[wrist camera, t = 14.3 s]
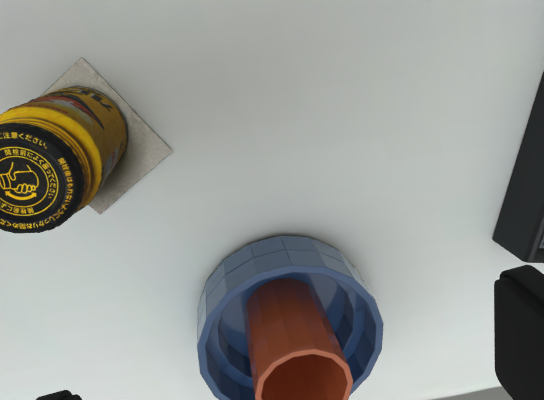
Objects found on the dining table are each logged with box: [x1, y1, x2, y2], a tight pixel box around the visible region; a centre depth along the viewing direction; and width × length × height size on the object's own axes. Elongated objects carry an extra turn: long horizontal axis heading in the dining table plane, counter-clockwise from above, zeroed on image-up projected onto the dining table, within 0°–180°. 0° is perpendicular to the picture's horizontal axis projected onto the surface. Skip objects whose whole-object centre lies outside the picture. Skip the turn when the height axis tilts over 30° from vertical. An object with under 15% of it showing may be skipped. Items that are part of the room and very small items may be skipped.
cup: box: [244, 278, 353, 400], centre depth 34 cm, size 7×7×9 cm
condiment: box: [0, 57, 172, 233], centre depth 26 cm, size 7×8×12 cm
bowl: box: [197, 236, 383, 400], centre depth 36 cm, size 14×14×6 cm
